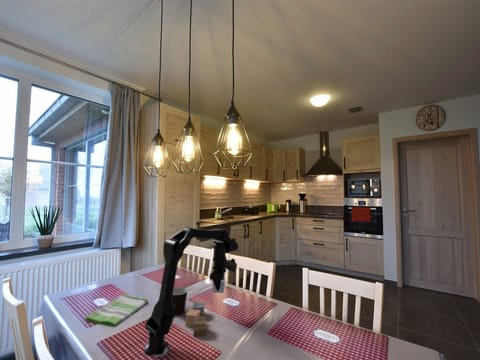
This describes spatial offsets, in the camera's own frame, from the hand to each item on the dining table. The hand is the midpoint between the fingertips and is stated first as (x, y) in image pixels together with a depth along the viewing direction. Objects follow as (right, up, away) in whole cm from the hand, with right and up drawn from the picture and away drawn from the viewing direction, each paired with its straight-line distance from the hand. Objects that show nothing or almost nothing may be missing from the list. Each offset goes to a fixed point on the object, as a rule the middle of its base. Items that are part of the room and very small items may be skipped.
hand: (218, 288), depth 109 cm
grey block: (-10, -13, 0) cm, 16 cm away
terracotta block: (-11, -13, -7) cm, 18 cm away
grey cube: (0, -1, 0) cm, 1 cm away
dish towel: (-49, -13, +2) cm, 51 cm away
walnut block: (-7, -12, -13) cm, 19 cm away
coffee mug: (-20, -13, +4) cm, 24 cm away
